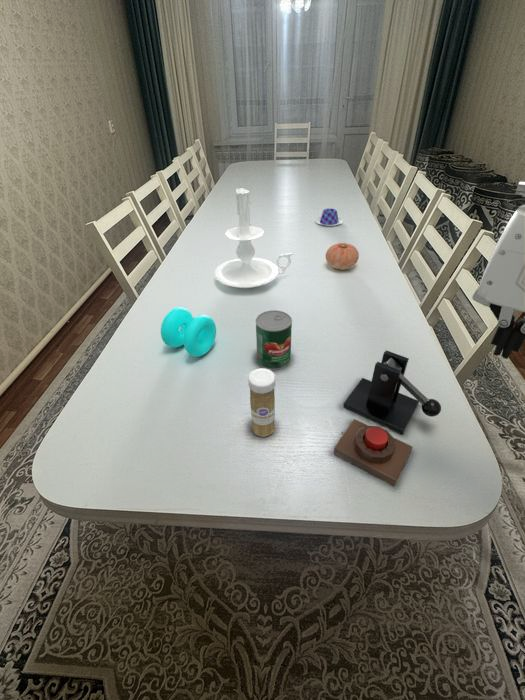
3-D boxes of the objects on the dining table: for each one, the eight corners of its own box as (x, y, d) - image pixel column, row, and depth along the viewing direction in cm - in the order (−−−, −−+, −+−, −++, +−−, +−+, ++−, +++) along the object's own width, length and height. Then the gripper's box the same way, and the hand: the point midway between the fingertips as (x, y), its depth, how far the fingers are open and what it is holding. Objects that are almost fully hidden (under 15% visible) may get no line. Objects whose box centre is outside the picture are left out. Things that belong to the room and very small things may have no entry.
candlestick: (295, 294, 108) (299, 196, 90) (213, 297, 107) (201, 200, 90) (288, 264, 124) (290, 177, 106) (216, 267, 123) (207, 180, 106)
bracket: (417, 405, 72) (433, 360, 65) (402, 434, 66) (418, 389, 59) (361, 381, 78) (370, 337, 70) (343, 407, 72) (350, 362, 65)
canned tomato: (276, 375, 80) (276, 335, 73) (250, 360, 84) (247, 321, 77) (297, 357, 84) (299, 318, 78) (271, 344, 89) (271, 306, 82)
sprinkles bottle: (255, 440, 66) (252, 388, 58) (248, 422, 69) (245, 370, 61) (278, 434, 67) (279, 382, 59) (271, 416, 70) (270, 364, 62)
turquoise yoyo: (194, 366, 83) (188, 331, 77) (162, 353, 87) (154, 318, 81) (220, 343, 89) (216, 309, 83) (189, 332, 94) (183, 298, 87)
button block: (410, 452, 63) (415, 440, 61) (394, 486, 58) (399, 474, 56) (352, 424, 68) (355, 412, 66) (333, 453, 63) (335, 441, 61)
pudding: (342, 227, 150) (344, 215, 147) (314, 226, 152) (314, 214, 149) (342, 218, 160) (344, 206, 156) (315, 217, 162) (316, 205, 158)
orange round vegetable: (359, 274, 117) (363, 250, 112) (326, 274, 117) (328, 251, 112) (353, 260, 126) (357, 237, 121) (322, 260, 126) (324, 238, 121)
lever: (433, 411, 67) (447, 405, 64) (428, 422, 65) (442, 416, 62) (382, 362, 68) (393, 354, 66) (375, 372, 66) (387, 364, 64)
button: (389, 439, 62) (391, 433, 61) (381, 454, 59) (383, 448, 58) (369, 430, 63) (370, 423, 62) (360, 444, 61) (362, 437, 60)
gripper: (483, 198, 35) (432, 345, 47) (692, 226, 28) (572, 392, 39) (496, 181, 40) (447, 319, 51) (679, 202, 33) (575, 357, 44)
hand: (501, 351), depth 45 cm, fingers closed
